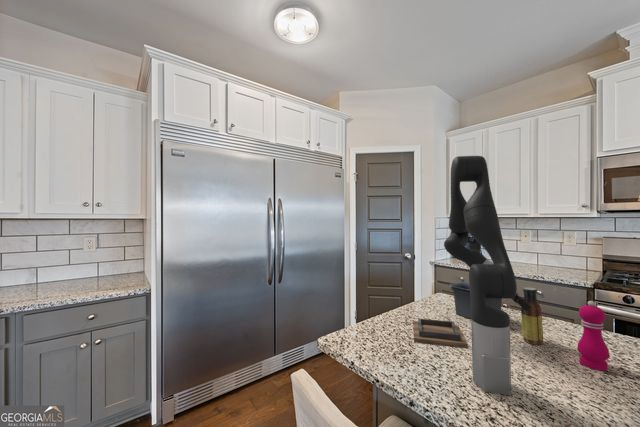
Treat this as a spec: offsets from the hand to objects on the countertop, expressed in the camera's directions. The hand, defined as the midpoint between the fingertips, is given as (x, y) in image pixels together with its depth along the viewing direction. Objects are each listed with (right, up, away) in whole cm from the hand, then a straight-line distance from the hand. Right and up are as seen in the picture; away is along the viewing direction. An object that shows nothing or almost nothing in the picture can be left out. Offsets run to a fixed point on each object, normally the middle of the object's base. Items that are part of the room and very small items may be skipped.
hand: (525, 305), depth 105 cm
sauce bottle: (+2, -13, -1) cm, 14 cm away
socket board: (-31, -14, +6) cm, 34 cm away
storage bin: (-4, -14, +25) cm, 29 cm away
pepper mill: (+8, -13, -18) cm, 24 cm away
